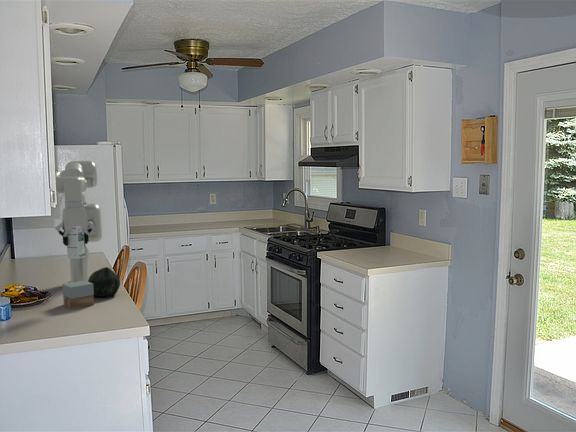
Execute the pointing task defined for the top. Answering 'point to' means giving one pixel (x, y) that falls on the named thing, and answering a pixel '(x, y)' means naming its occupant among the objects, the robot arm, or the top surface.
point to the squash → (105, 282)
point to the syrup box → (76, 243)
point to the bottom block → (78, 301)
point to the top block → (78, 289)
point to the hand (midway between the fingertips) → (76, 244)
